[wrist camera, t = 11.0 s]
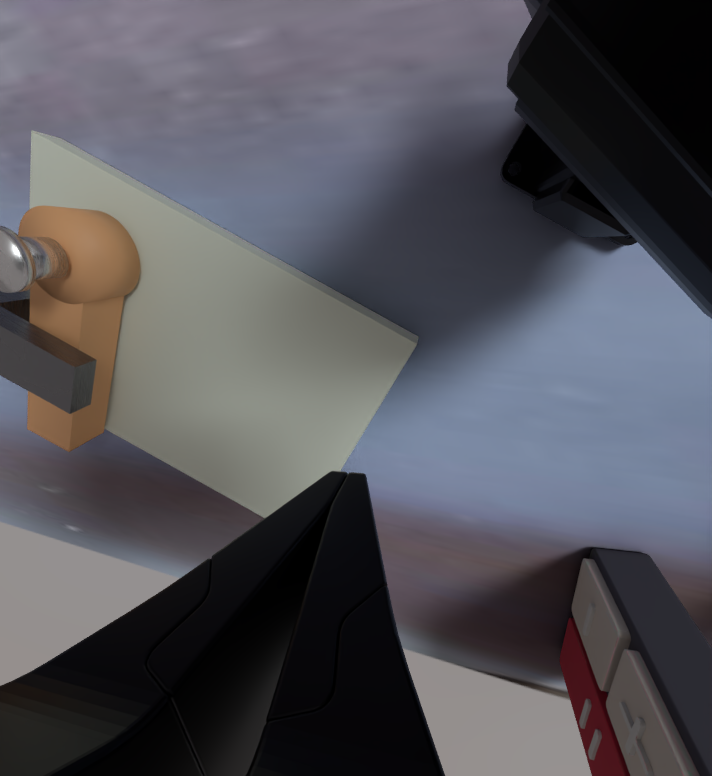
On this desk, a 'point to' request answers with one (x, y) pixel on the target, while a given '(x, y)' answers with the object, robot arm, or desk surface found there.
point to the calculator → (637, 671)
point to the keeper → (30, 343)
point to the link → (81, 309)
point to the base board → (227, 344)
